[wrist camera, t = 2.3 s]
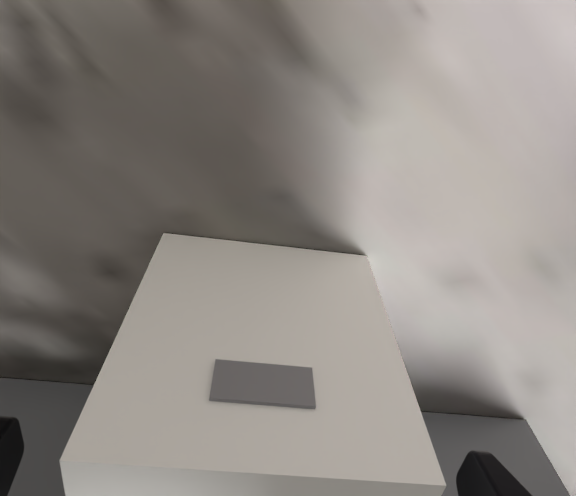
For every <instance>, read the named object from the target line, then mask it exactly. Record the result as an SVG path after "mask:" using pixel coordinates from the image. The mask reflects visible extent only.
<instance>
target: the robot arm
mask: <svg viewBox="0 0 576 496" xmlns="http://www.w3.org/2000/svg"><path fill="white" fill-rule="evenodd" d="M23 453H24V440H23V436H22V431H21V427H20V423H19V420H18V419H17V418H16V417H9V416H0V496H8V493H9V491H10V488H11V485H12V483H13V480H14V478H15V475H16V472H17V470H18V467H19V465H20V462H21V459H22V457H23ZM456 486H457V491H458V496H533V495H532V494H531V493H530V492H529V491H528V490H527V489H526V488H525V487H524V486H523V485H522V484H521V483H520V482H519V481H518V480H517V479H516V478H515V477H514V476H513V475H512V473H511V472H510V471H509V470H508V469H507V468H506V467H505V466H504V465H503V464H502V463H501V462H500V461H499V460H498V459H497V458H496V457H495V456H494V455H493V454H492V453H490V452H488V451H479V450H471V451H469V452H468V453H467V455H466V457H465V459H464V461H463V463H462V465H461V466H460V468H459V470H458V472H457V476H456Z"/></svg>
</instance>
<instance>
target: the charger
mask: <svg viewBox="0 0 576 496" xmlns="http://www.w3.org/2000/svg"><path fill="white" fill-rule="evenodd" d="M59 461H60V467H61V473H62V479H63V485H64V491H65V496H441V495H442V493H443V492H444V490H445V488H446V483H445V480H444V477H443V474H442V471H441V468H440V465H439V463H438V460H437V457H436V454H435V451H434V448H433V445H432V442H431V439H430V437H429V434H428V431H427V428H426V425H425V422H424V419H423V416H422V413H421V411H420V408H419V405H418V402H417V399H416V396H415V393H414V390H413V387H412V385H411V382H410V379H409V376H408V373H407V370H406V367H405V364H404V361H403V359H402V356H401V353H400V350H399V347H398V344H397V341H396V338H395V335H394V333H393V330H392V327H391V324H390V321H389V318H388V315H387V312H386V309H385V307H384V304H383V301H382V298H381V295H380V292H379V289H378V286H377V283H376V281H375V278H374V275H373V272H372V269H371V266H370V263H369V260H368V257H367V256H364V255H355V254H346V253H337V252H328V251H319V250H310V249H302V248H293V247H284V246H275V245H266V244H257V243H248V242H239V241H231V240H222V239H213V238H204V237H195V236H186V235H177V234H168V233H163V235H162V237H161V239H160V242H159V244H158V246H157V248H156V250H155V253H154V255H153V257H152V259H151V261H150V263H149V266H148V268H147V270H146V272H145V274H144V277H143V279H142V281H141V283H140V285H139V288H138V290H137V292H136V294H135V296H134V298H133V301H132V303H131V305H130V307H129V309H128V312H127V314H126V316H125V318H124V320H123V323H122V325H121V327H120V329H119V331H118V333H117V336H116V338H115V340H114V342H113V344H112V347H111V349H110V351H109V353H108V355H107V358H106V360H105V362H104V364H103V366H102V368H101V371H100V373H99V375H98V377H97V379H96V382H95V384H94V386H93V388H92V390H91V393H90V395H89V397H88V399H87V401H86V403H85V406H84V408H83V410H82V412H81V414H80V417H79V419H78V421H77V423H76V425H75V428H74V430H73V432H72V434H71V436H70V438H69V441H68V443H67V445H66V447H65V449H64V452H63V454H62V456H61V458H60V460H59Z"/></svg>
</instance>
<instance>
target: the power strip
mask: <svg viewBox="0 0 576 496" xmlns="http://www.w3.org/2000/svg"><path fill="white" fill-rule="evenodd" d="M93 386H94V385H85V384H73V383H60V382H48V381H36V380H23V379H11V378H0V416H9V417H16V418H17V419H18V420H19V423H20V427H21V431H22V436H23V440H24V453H23V457H22V459H21V462H20V465H19V467H18V470H17V472H16V475H15V478H14V480H13V483H12V485H11V488H10V491H9V493H8V496H65V491H64V485H63V479H62V473H61V467H60V461H59V460H60V458H61V456H62V454H63V452H64V449H65V447H66V445H67V443H68V441H69V438H70V436H71V434H72V432H73V430H74V428H75V425H76V423H77V421H78V419H79V417H80V414H81V412H82V410H83V408H84V406H85V403H86V401H87V399H88V397H89V395H90V393H91V390H92V388H93ZM421 413H422V416H423V419H424V422H425V425H426V428H427V431H428V434H429V437H430V439H431V442H432V445H433V448H434V451H435V454H436V457H437V460H438V463H439V465H440V468H441V471H442V474H443V477H444V480H445V483H446V488H445V490H444V492H443V493H442V495H441V496H458V491H457V486H456V476H457V472H458V470H459V468H460V466H461V465H462V463H463V461H464V459H465V457H466V455H467V453H468V452H469V451H471V450H479V451H488V452H490V453H492V454H493V455H494V456H495V457H496V458H497V459H498V460H499V461H500V462H501V463H502V464H503V465H504V466H505V467H506V468H507V469H508V470H509V471H510V472H511V473H512V475H513V476H514V477H515V478H516V479H517V480H518V481H519V482H520V483H521V484H522V485H523V486H524V487H525V488H526V489H527V490H528V491H529V492H530V493H531V494H532V495H533V496H570V495H569V493H568V491H567V490H566V488H565V486H564V484H563V483H562V481H561V479H560V478H559V476H558V474H557V472H556V471H555V469H554V467H553V466H552V464H551V462H550V460H549V459H548V457H547V455H546V454H545V452H544V450H543V448H542V447H541V445H540V443H539V442H538V440H537V438H536V436H535V435H534V433H533V431H532V430H531V428H530V426H529V424H528V423H527V421H526V420H520V419H507V418H495V417H482V416H470V415H458V414H445V413H433V412H421Z"/></svg>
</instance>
